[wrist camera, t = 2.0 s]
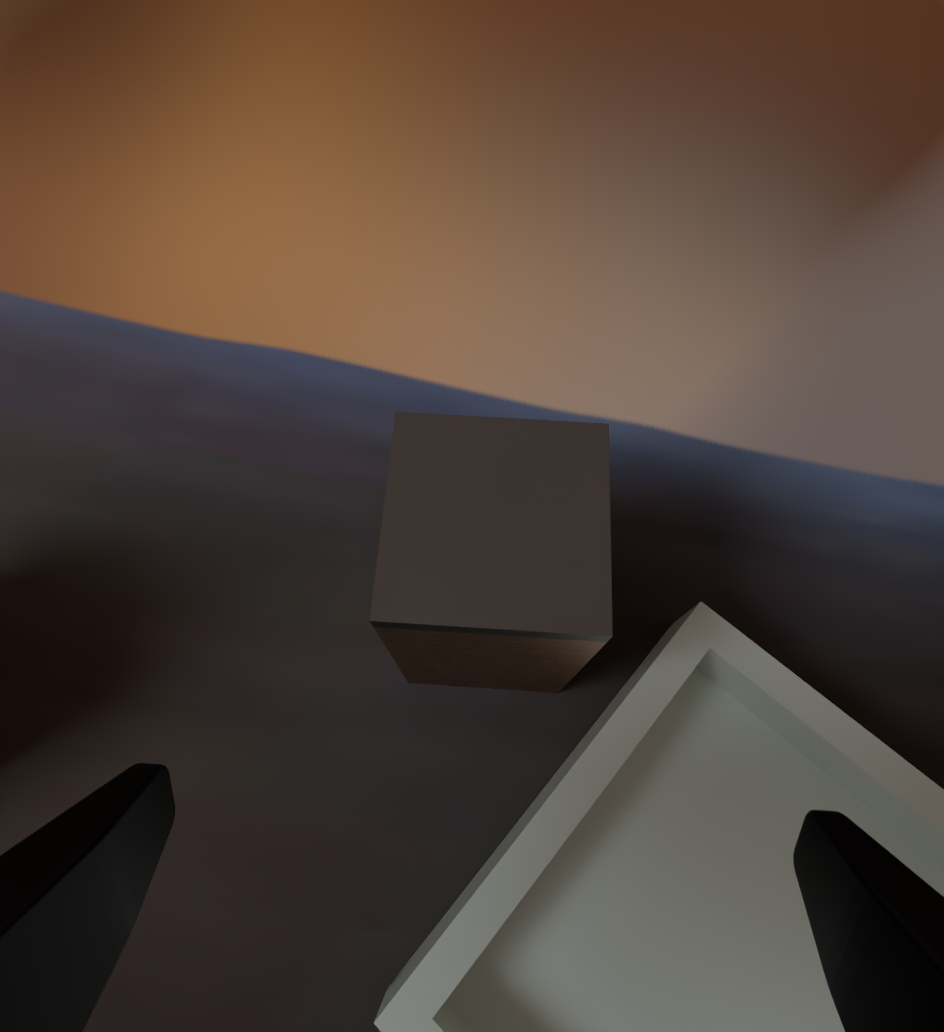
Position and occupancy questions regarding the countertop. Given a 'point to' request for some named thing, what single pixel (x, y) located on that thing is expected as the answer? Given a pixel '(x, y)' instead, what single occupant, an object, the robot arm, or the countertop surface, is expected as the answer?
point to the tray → (671, 860)
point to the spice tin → (494, 551)
